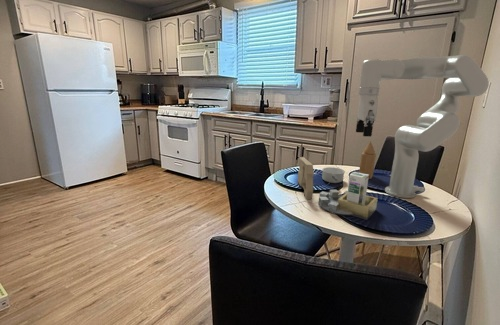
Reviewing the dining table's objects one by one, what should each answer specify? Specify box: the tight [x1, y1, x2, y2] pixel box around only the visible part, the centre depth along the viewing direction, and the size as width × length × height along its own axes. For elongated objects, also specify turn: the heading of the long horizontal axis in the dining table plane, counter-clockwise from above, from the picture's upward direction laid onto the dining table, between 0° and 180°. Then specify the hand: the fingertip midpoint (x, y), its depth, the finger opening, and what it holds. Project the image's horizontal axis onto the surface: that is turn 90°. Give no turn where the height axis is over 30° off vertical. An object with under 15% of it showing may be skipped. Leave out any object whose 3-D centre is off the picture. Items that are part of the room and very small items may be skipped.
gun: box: [297, 156, 315, 200], centre depth 125 cm, size 24×3×15 cm, turn 179°
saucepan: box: [321, 166, 346, 184], centre depth 136 cm, size 12×20×6 cm, turn 168°
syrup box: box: [347, 171, 369, 205], centre depth 103 cm, size 6×6×14 cm
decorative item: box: [358, 141, 377, 180], centre depth 144 cm, size 7×7×20 cm
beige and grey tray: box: [318, 189, 378, 221], centre depth 108 cm, size 21×18×5 cm
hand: (363, 134), depth 112 cm, fingers open, 9 cm apart
